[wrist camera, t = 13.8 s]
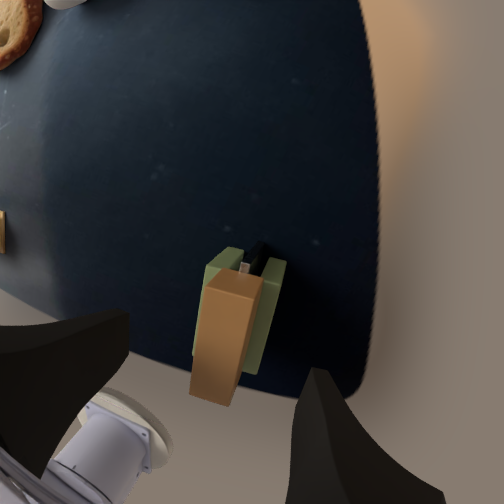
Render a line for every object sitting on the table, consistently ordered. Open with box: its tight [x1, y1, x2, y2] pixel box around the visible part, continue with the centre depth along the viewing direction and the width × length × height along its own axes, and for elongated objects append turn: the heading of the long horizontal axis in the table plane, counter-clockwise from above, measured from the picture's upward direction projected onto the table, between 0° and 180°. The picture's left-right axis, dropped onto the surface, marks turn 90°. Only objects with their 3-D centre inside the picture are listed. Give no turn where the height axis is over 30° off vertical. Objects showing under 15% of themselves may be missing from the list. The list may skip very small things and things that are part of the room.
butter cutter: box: [189, 241, 265, 407], centre depth 14 cm, size 6×2×7 cm, turn 168°
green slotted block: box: [192, 247, 287, 374], centre depth 16 cm, size 5×3×4 cm
